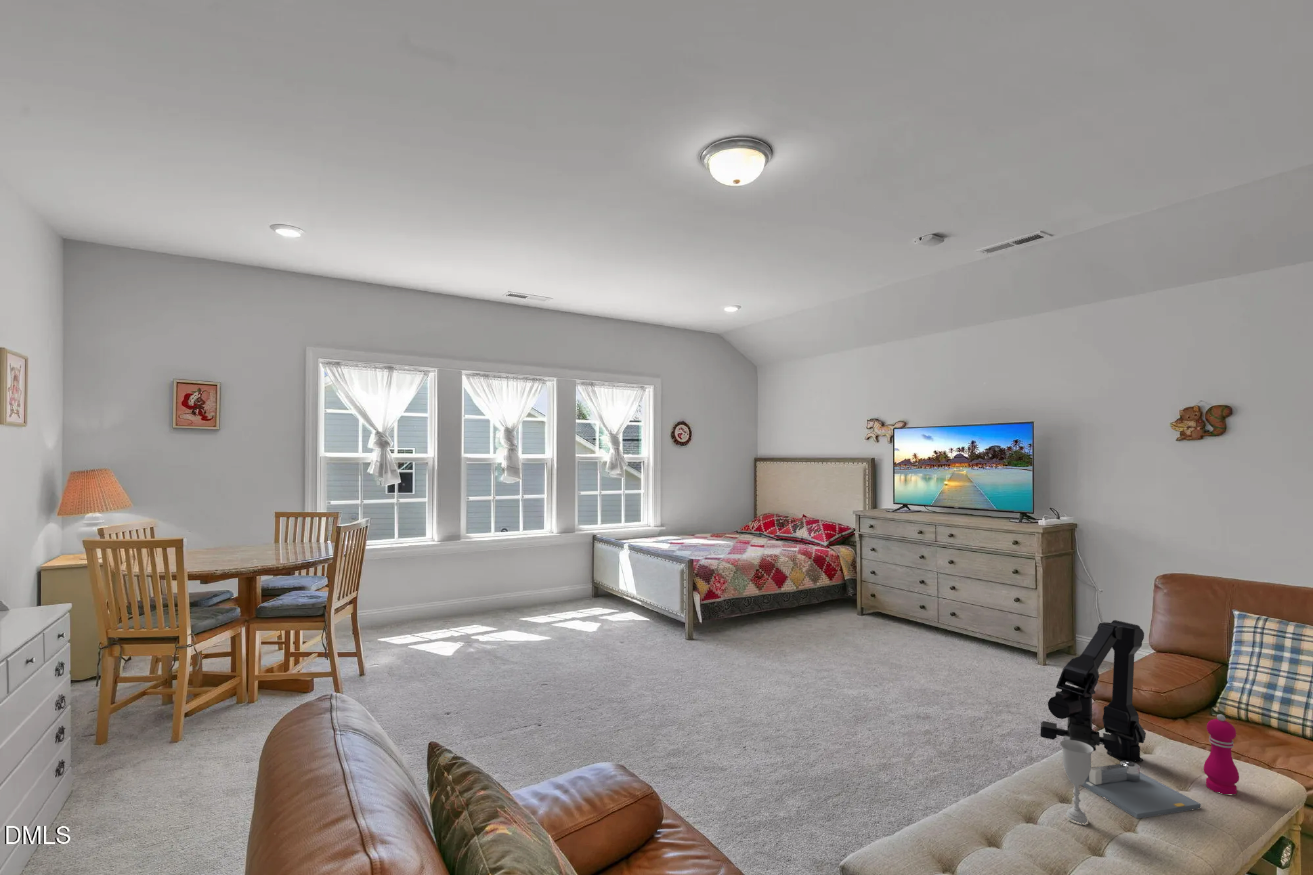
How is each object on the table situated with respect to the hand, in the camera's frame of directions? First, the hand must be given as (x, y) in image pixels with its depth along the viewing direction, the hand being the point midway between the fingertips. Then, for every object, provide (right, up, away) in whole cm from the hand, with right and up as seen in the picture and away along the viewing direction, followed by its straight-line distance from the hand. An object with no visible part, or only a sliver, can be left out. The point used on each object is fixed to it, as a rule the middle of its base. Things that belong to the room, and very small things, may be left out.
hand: (1079, 767), depth 181 cm
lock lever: (+6, -1, -4) cm, 8 cm away
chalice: (-14, -3, -21) cm, 25 cm away
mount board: (+9, -3, -8) cm, 12 cm away
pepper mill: (+34, -3, -6) cm, 34 cm away
